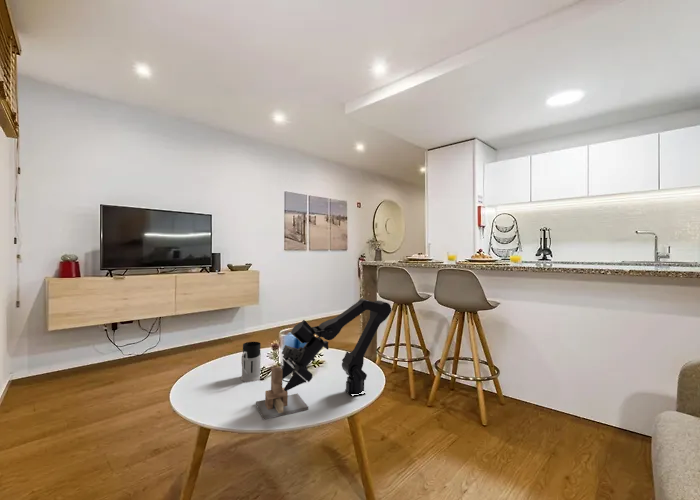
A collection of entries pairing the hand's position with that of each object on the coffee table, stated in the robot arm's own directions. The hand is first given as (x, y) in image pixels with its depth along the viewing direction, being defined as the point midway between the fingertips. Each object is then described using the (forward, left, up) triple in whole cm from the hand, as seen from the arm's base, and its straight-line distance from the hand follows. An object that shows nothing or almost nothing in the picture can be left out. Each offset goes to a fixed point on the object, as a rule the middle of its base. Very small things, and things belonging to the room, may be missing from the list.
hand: (281, 385), depth 119 cm
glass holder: (+6, -30, -8) cm, 32 cm away
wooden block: (+2, 0, -7) cm, 7 cm away
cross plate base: (0, 0, -8) cm, 8 cm away
